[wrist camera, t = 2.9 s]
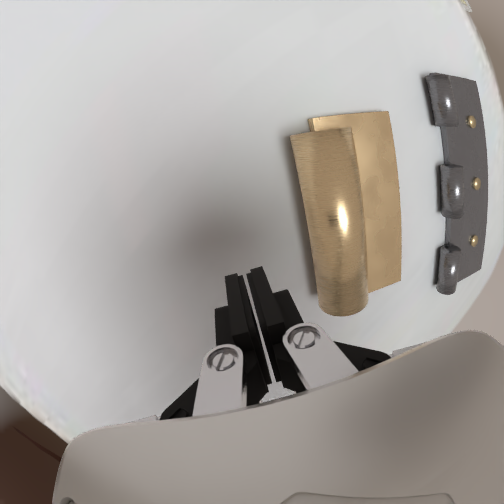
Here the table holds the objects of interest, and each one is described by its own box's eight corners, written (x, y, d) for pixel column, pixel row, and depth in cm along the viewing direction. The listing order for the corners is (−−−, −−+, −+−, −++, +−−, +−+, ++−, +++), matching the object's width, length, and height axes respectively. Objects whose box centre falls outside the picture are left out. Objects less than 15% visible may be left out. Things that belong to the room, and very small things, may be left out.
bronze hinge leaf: (394, 275, 25) (419, 295, 21) (313, 303, 25) (330, 331, 21) (380, 112, 19) (412, 109, 15) (279, 124, 18) (297, 118, 14)
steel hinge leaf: (476, 266, 27) (489, 274, 25) (431, 290, 27) (444, 300, 24) (471, 81, 18) (486, 80, 15) (419, 72, 17) (436, 68, 15)
